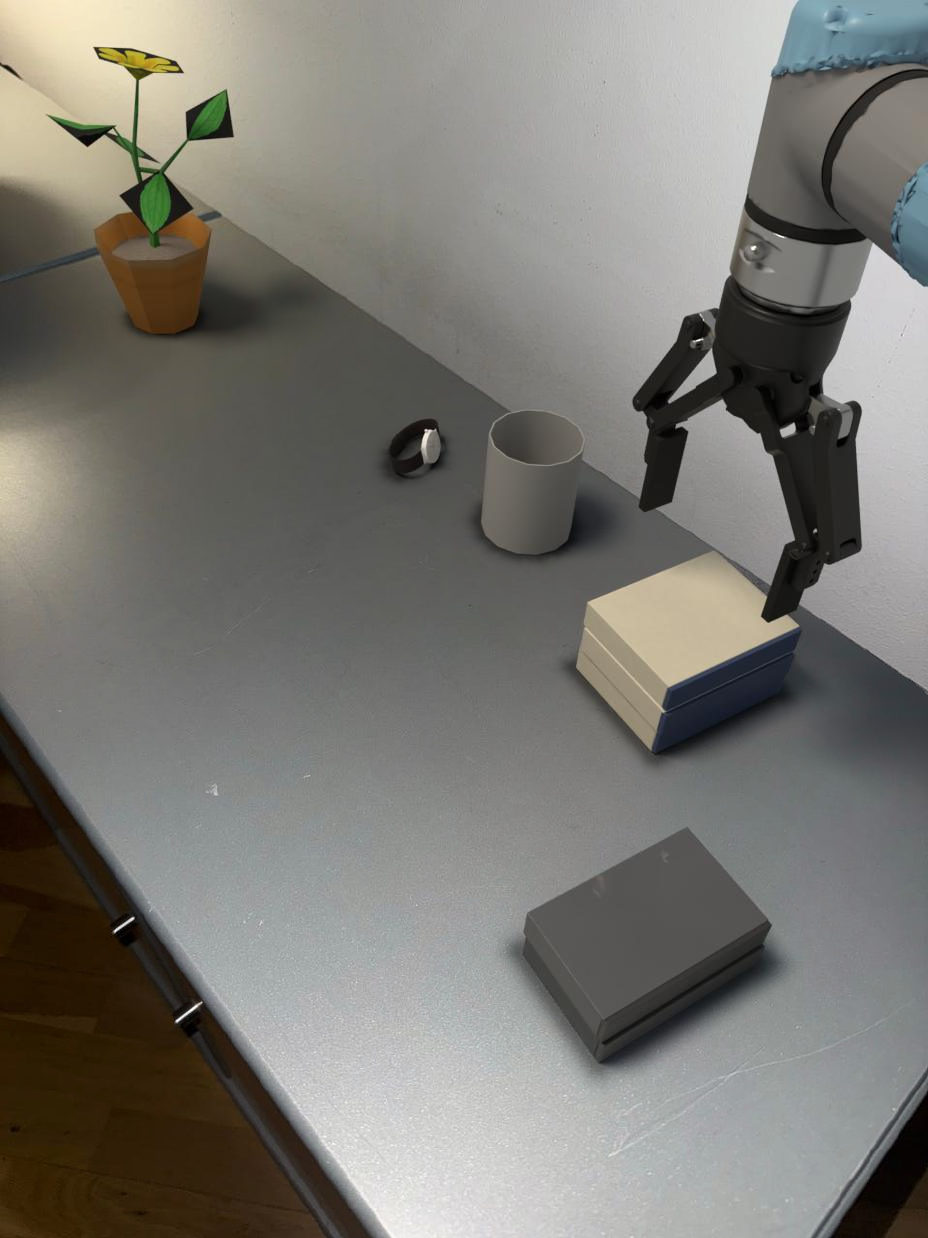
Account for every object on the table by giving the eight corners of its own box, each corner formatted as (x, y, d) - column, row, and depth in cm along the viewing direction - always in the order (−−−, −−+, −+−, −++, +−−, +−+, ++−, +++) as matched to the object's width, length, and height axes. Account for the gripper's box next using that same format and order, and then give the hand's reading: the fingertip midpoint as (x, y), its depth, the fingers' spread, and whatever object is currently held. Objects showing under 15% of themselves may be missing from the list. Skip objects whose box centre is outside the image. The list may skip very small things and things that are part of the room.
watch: (421, 484, 105) (422, 454, 103) (376, 471, 106) (377, 441, 104) (450, 442, 111) (452, 412, 108) (408, 430, 112) (408, 400, 109)
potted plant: (250, 356, 120) (223, 65, 99) (73, 360, 117) (6, 62, 96) (250, 277, 132) (226, 4, 111) (90, 280, 130) (34, 0, 108)
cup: (463, 516, 102) (470, 427, 95) (530, 486, 106) (541, 399, 99) (520, 566, 98) (532, 477, 91) (588, 533, 102) (604, 445, 95)
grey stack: (756, 964, 72) (776, 926, 68) (596, 1064, 66) (609, 1028, 63) (674, 866, 76) (688, 825, 73) (519, 952, 71) (526, 912, 68)
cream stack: (780, 695, 89) (797, 652, 85) (654, 757, 83) (666, 715, 80) (696, 614, 95) (709, 572, 91) (574, 668, 89) (582, 625, 86)
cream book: (794, 651, 85) (803, 628, 83) (665, 712, 80) (672, 690, 78) (708, 572, 91) (714, 549, 89) (582, 624, 86) (587, 601, 84)
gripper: (612, 213, 70) (572, 478, 85) (907, 406, 56) (797, 686, 70) (700, 193, 73) (647, 452, 88) (1002, 371, 59) (877, 646, 74)
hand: (713, 556), depth 79 cm, fingers open, 13 cm apart
